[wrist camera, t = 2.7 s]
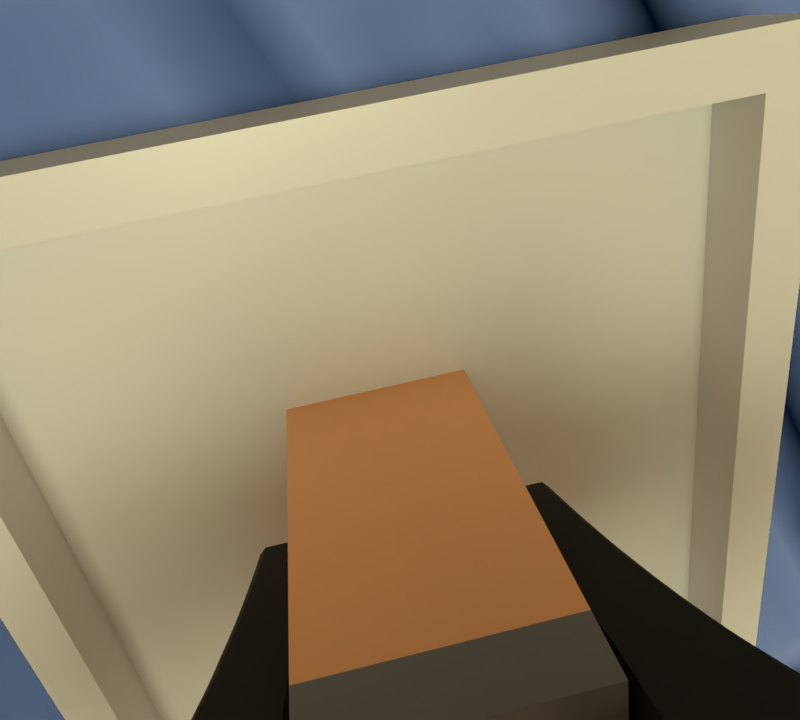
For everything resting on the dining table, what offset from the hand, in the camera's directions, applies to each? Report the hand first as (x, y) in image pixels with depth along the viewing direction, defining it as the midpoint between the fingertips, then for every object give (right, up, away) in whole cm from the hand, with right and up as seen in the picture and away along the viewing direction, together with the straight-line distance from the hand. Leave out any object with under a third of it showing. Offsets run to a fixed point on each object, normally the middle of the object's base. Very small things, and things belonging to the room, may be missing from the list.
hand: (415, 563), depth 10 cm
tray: (0, +1, +2) cm, 3 cm away
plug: (0, +1, +2) cm, 2 cm away
